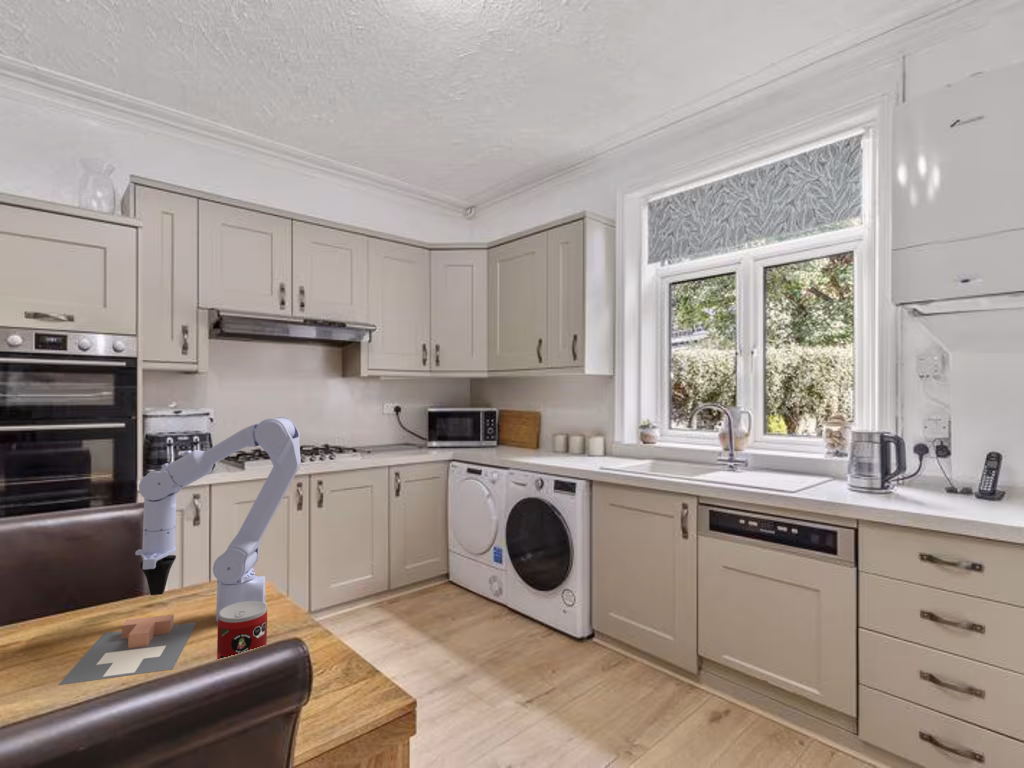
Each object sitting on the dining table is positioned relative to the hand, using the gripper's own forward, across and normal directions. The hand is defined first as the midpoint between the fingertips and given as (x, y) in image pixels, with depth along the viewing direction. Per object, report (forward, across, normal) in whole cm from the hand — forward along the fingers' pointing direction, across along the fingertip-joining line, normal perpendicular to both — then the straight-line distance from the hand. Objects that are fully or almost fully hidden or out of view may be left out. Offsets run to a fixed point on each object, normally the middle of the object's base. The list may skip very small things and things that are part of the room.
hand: (157, 593), depth 112 cm
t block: (+5, +9, 0) cm, 10 cm away
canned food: (+6, +27, +19) cm, 34 cm away
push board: (+6, +14, 0) cm, 15 cm away
